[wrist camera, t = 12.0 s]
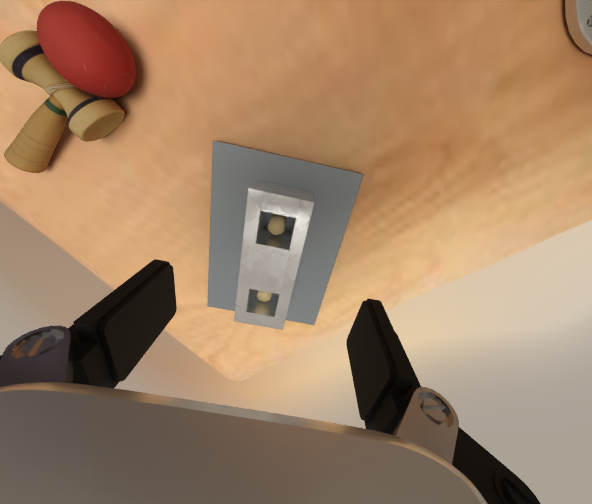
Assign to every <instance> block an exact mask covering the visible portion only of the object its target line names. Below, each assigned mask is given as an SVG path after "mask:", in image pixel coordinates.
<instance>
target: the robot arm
mask: <svg viewBox="0 0 592 504" xmlns="http://www.w3.org/2000/svg"><path fill="white" fill-rule="evenodd" d="M565 14H566V21H567V25H568V30H569V33H570V34H571V36H572V38H573V40H574V42H575V43H576V44H577V45H578V46H579V47H580V48H581V49H582V50H583V51H584V52H586V53H589V54H591V55H592V0H565ZM175 313H176V296H175V285H174V273H173V267H172V266H171V265H170V263H169V262H167V261H161V260H153V261H152V262H150V263H149V264H148V265H146V266H145V267H144V268H143V269H141V270H140V271H139V272H137V273H136V274H135V275H134V276H132V277H131V278H130V279H128V280H127V281H126V282H124V283H123V284H122V285H121V286H119V287H118V288H117V289H115V290H114V291H113V292H112V293H110V294H109V295H108V296H106V297H105V298H104V299H103V300H101V301H100V302H99V303H97V304H96V305H95V306H93V307H92V308H91V309H90V310H88V311H87V312H86V313H84V314H83V315H82V316H80V317H79V318H78V319H77V320H75V321H74V324H73V325H72V326H71V327H70V328H66V327H63V326H48V327H42V328H39V329H36V330H33V331H30V332H28V333H26V334H24V335H22V336H20V337H19V338H17V339H16V340H14V341H13V342H12V343H10V344H9V345H8V346H7V348H6V349H5V351H4V352H3V355H1V356H0V504H540V503H539V501H538V499H537V498H536V496H535V495H534V494H533V492H532V491H531V490H530V489H529V488H528V486H527V485H526V484H525V483H524V482H522V480H520V479H519V478H518V477H517V476H516V475H515V474H514V473H513V472H511V471H510V470H509V469H508V468H507V467H506V466H504V465H503V464H502V463H501V462H500V461H498V460H497V459H496V458H495V457H494V456H493V455H491V454H490V453H489V452H488V451H487V450H485V449H484V448H483V447H482V446H481V445H479V444H478V443H477V442H476V441H475V440H474V439H472V438H471V437H470V436H469V435H468V434H467V433H465V432H464V431H463V430H462V429H461V428H459V421H458V417H457V415H456V412H455V411H454V409H453V407H452V406H451V405H450V403H449V402H448V401H447V400H446V399H445V398H444V397H443V396H441V395H440V394H439V393H437V392H436V391H434V390H432V389H429V388H426V387H421V386H420V383H419V381H418V379H417V377H416V375H415V373H414V370H413V368H412V366H411V364H410V362H409V359H408V357H407V355H406V353H405V351H404V349H403V346H402V344H401V342H400V340H399V338H398V335H397V334H396V332H395V331H394V329H393V327H392V325H391V323H390V320H389V318H388V316H387V314H386V312H385V309H384V307H383V305H382V303H381V301H379V300H373V299H367V300H366V301H363V302H362V305H361V307H360V309H359V312H358V314H357V316H356V319H355V321H354V324H353V326H352V328H351V331H350V333H349V335H348V339H347V350H348V354H349V360H350V366H351V370H352V376H353V382H354V387H355V392H356V397H357V403H358V408H359V413H360V417H361V419H362V420H364V421H365V426H366V429H363V428H357V427H352V426H347V425H341V424H336V423H330V422H324V421H318V420H312V419H305V418H300V417H294V416H287V415H281V414H276V413H269V412H262V411H257V410H251V409H244V408H238V407H232V406H225V405H219V404H213V403H206V402H200V401H193V400H187V399H180V398H174V397H167V396H161V395H155V394H148V393H142V392H135V391H128V390H121V389H114V387H116V385H117V384H118V383H119V381H123V380H125V379H126V377H127V376H128V375H129V373H130V372H131V371H132V370H133V368H134V367H135V366H136V365H137V363H138V362H139V361H140V359H141V358H142V357H143V355H144V354H145V352H146V351H147V350H148V349H149V347H150V346H151V345H152V344H153V342H154V341H155V340H156V338H157V337H158V336H159V334H160V333H161V332H162V330H163V329H164V328H165V327H166V325H167V324H168V323H169V321H170V320H171V319H172V318H173V316H174V315H175Z"/></svg>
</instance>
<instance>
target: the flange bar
mask: <svg viewBox="0 0 592 504" xmlns="http://www.w3.org/2000/svg"><path fill="white" fill-rule="evenodd" d="M313 206H314V198H313V193H312V192H311V191H306V190H302V189H297V188H293V187H288V186H284V185H279V184H275V183H270V182H265V181H261V180H258V181H257V182H256V183H254V184H253V185H252V186H251V187H249V188H248V197H247V206H246V215H245V224H244V233H243V243H242V252H241V261H240V270H239V279H238V288H237V297H236V307H235V316H234V321H235V322H241V323H247V324H252V325H258V326H264V327H270V328H275V329H281V330H283V327H284V323H285V319H286V315H287V311H288V307H289V303H290V299H291V295H292V290H293V286H294V282H295V278H296V274H297V270H298V266H299V262H300V258H301V254H302V250H303V246H304V242H305V238H306V234H307V230H308V226H309V222H310V218H311V214H312V210H313ZM266 212H269V213H273V214H278V215H283V216H288V217H292V218H294V223H293V228H292V232H288V231H283V232H282V233H281V234H279V235H274V234H272V233H271V232H270V231H269V229H268V227H264V222H265V215H266ZM258 290H259V291H265V292H270V293H272V295H271V299H270V300H269V301H266V302H264V301H260V300H259V299H258V297H257V293H258Z"/></svg>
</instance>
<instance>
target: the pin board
mask: <svg viewBox="0 0 592 504" xmlns="http://www.w3.org/2000/svg"><path fill="white" fill-rule="evenodd" d="M362 178H363V174H361V173H358V172H353V171H349V170H344V169H340V168H336V167H331V166H327V165H322V164H318V163H314V162H309V161H305V160H300V159H296V158H292V157H287V156H283V155H279V154H274V153H270V152H265V151H261V150H257V149H252V148H248V147H243V146H239V145H235V144H230V143H226V142H221V141H213V158H212V188H211V218H210V247H209V277H208V306H209V307H215V308H221V309H226V310H232V311H235V307H236V297H237V288H238V279H239V270H240V261H241V252H242V243H243V233H244V224H245V215H246V206H247V197H248V188H249V187H251V186H252V185H253V184H254V183H256V182H257V181H258V180H261V181H265V182H270V183H275V184H279V185H284V186H288V187H293V188H297V189H302V190H306V191H311V192H312V193H313V198H314V206H313V210H312V214H311V218H310V222H309V226H308V230H307V234H306V238H305V242H304V246H303V250H302V254H301V258H300V262H299V266H298V270H297V274H296V278H295V282H294V286H293V290H292V295H291V299H290V303H289V307H288V311H287V315H286V319H285V320H288V321H294V322H300V323H305V324H311V325H314V324H315V321H316V318H317V315H318V312H319V309H320V306H321V303H322V300H323V297H324V294H325V291H326V287H327V284H328V281H329V278H330V275H331V272H332V269H333V266H334V263H335V260H336V257H337V254H338V251H339V248H340V245H341V242H342V239H343V236H344V233H345V230H346V227H347V224H348V221H349V218H350V215H351V211H352V208H353V205H354V202H355V199H356V196H357V193H358V190H359V187H360V184H361V181H362ZM293 223H294V218H292V217H288V216H283V215H278V214H273V213H269V212H266V215H265V222H264V227H268V229H269V231H270V232H271V233H272V234H274V235H279V234H281V233H282V232H283V231H288V232H292V228H293ZM271 295H272V293H270V292H265V291H259V290H258V293H257V297H258V299H259V300H260V301H264V302H266V301H269V300H270V299H271Z"/></svg>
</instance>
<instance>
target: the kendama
mask: <svg viewBox="0 0 592 504" xmlns="http://www.w3.org/2000/svg"><path fill="white" fill-rule="evenodd" d="M0 61H1V63H2V64H3V65H4V66H5V67H6V68H7V69H8V70H9V71H10V72H11V73H12V74H13V75H14V76H15V77H17V78H19V79H21V80H25V81H28V82H31V83H34V84H36V85H38V86H40V87H42V88H43V89H45V91H46V92H47V93H48V94H49V95H51V96H50V97H49V98H48V99H47V100H46V101H45V102H44V103H43V104H42V105H41V106H40V107H39V108H38V109H37V110H36V111H35V112H34V113H33V114H32V116H31V117H30V118H29V120H28V121H27V122H26V124H25V125H24V127H23V128H22V130H21V131H20V133H19V134H18V135H17V137H16V138H15V139H14V141H13V143H12V144H11V145H10V146H9V147H8V148H7V150H6V151H5V153H4V156H5V159H6V160H7V161H8V162H9V163H10V164H11V165H13V166H14V167H16V168H18V169H20V170H23V171H27V172H31V173H40V172H43V171H45V170H46V168H47V166H48V163H49V161H50V159H51V156H52V154H53V152H54V149H55V148H56V146H57V143H58V141H59V139H60V137H61V135H62V133H63V130H64V127H65V124H66V120H67V117H68V122H69V128H70V130H71V131H72V132H73V133H74V134H76V135H77V136H78V137H79V138H80V139H82V140H83V141H95V140H97V139H100V138H102V137H104V136H106V135H108V134H109V133H110V132H112V131H113V130H114V129H116V128H117V127H118V126H119V125H120V124H121V122H122V121H123V119H124V115H125V114H124V111H123V110H122V109H121V108H120V107H119V106H118V105H117V103H116V102H115V101H113V100H112V99H111V98H116V97H120V96H122V95H124V94H126V93H127V92H128V91H129V90H130V89H131V88H132V86H133V84H134V82H135V77H136V66H135V61H134V57H133V55H132V53H131V50H130V48H129V46H128V45H127V43H126V41H125V40H124V38H123V37H122V35H121V33H120V32H119V30H118V29H117V28H116V27H114V26H113V25H112V24H111V23H110V22H108V21H107V20H106V19H105V18H104V17H102V16H101V15H100V14H98V13H97V12H95V11H94V10H92V9H90V8H88V7H86V6H84V5H81V4H79V3H76V2H71V1H58V2H54V3H51V4H49V5H47V6H46V7H45V8H44V9H43V10H42V11H41V13H40V15H39V17H38V21H37V31H21V32H17V33H15V34H12V35H11V36H9V37H8V38H6V39H5V40H4V41H3V42H2V43H1V45H0Z"/></svg>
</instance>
